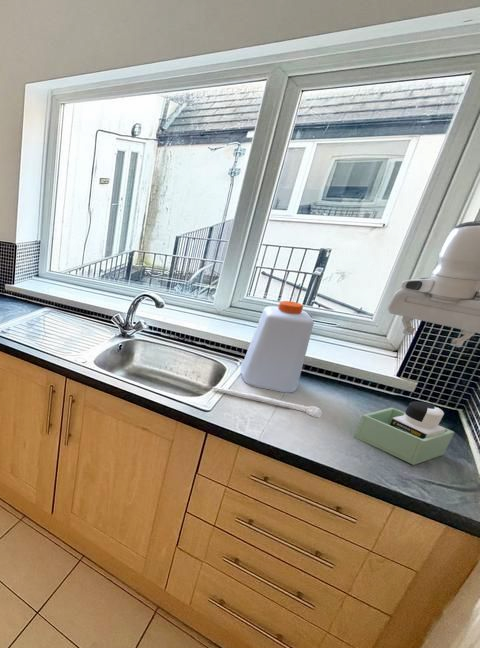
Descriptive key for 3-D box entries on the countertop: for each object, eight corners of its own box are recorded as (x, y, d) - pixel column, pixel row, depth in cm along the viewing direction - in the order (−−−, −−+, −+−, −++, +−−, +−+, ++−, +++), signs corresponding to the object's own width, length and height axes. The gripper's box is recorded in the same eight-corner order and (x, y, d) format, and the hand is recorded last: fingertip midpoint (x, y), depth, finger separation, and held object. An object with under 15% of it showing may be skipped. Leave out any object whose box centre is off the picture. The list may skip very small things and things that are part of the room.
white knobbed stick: (211, 393, 134) (213, 386, 133) (211, 388, 137) (213, 380, 136) (321, 420, 120) (324, 412, 119) (319, 414, 124) (322, 405, 122)
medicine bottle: (381, 440, 110) (400, 400, 105) (400, 435, 111) (419, 396, 107) (414, 457, 103) (436, 416, 99) (434, 452, 105) (456, 411, 100)
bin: (443, 454, 106) (454, 431, 103) (413, 465, 102) (424, 441, 99) (383, 428, 117) (392, 407, 114) (353, 436, 113) (362, 414, 110)
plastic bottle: (297, 397, 134) (328, 314, 123) (243, 386, 140) (267, 307, 129) (288, 376, 146) (314, 300, 135) (238, 367, 152) (260, 294, 141)
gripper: (522, 297, 96) (495, 352, 101) (408, 278, 114) (390, 326, 119) (507, 299, 94) (481, 356, 98) (394, 280, 112) (376, 329, 116)
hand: (430, 339), depth 109 cm, fingers open, 8 cm apart
